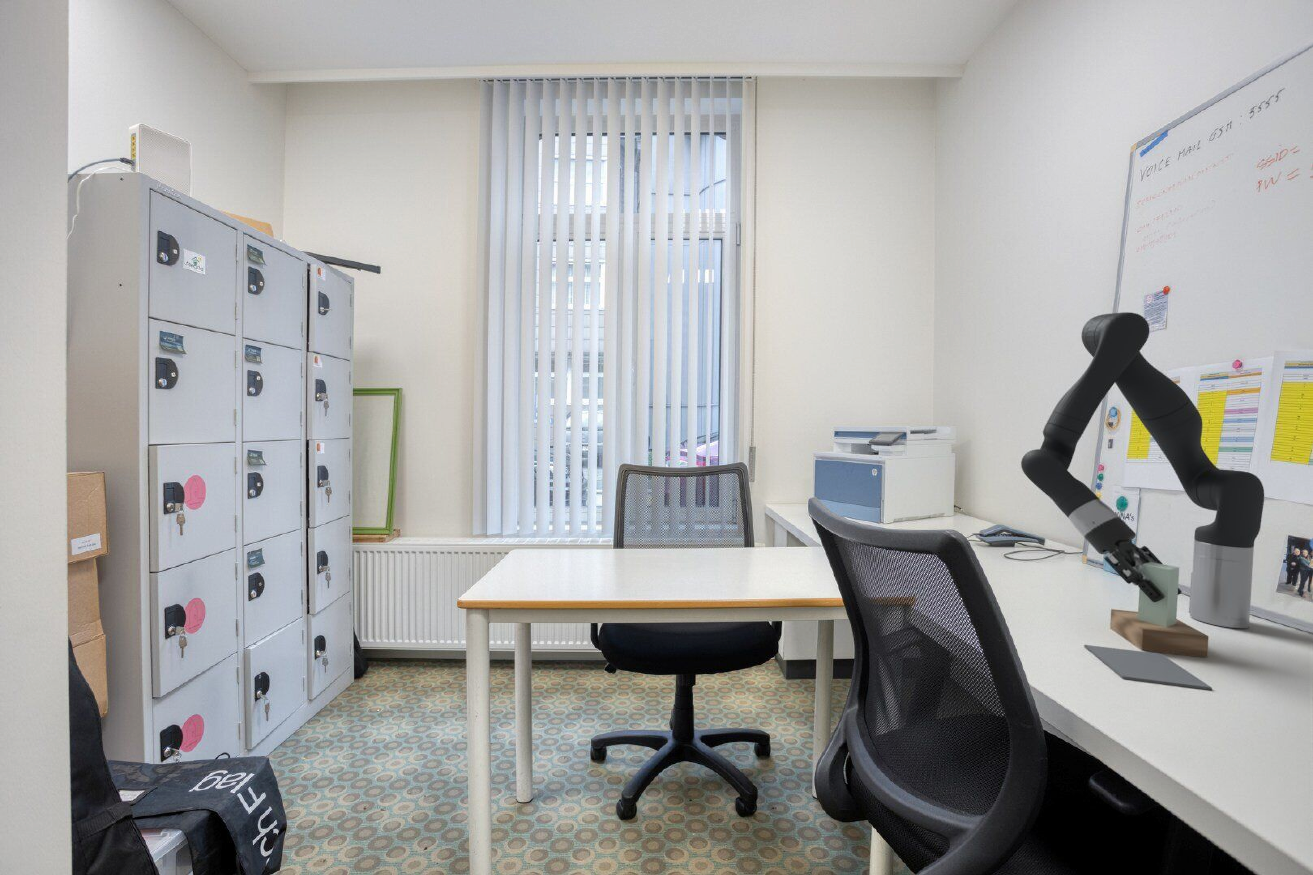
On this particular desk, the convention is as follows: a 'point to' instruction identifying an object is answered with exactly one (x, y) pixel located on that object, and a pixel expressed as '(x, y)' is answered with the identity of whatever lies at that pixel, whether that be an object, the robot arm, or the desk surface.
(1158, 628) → the walnut block
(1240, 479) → the robot arm
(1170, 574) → the sage block
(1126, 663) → the charcoal mat
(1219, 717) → the desk surface
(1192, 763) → the desk surface
